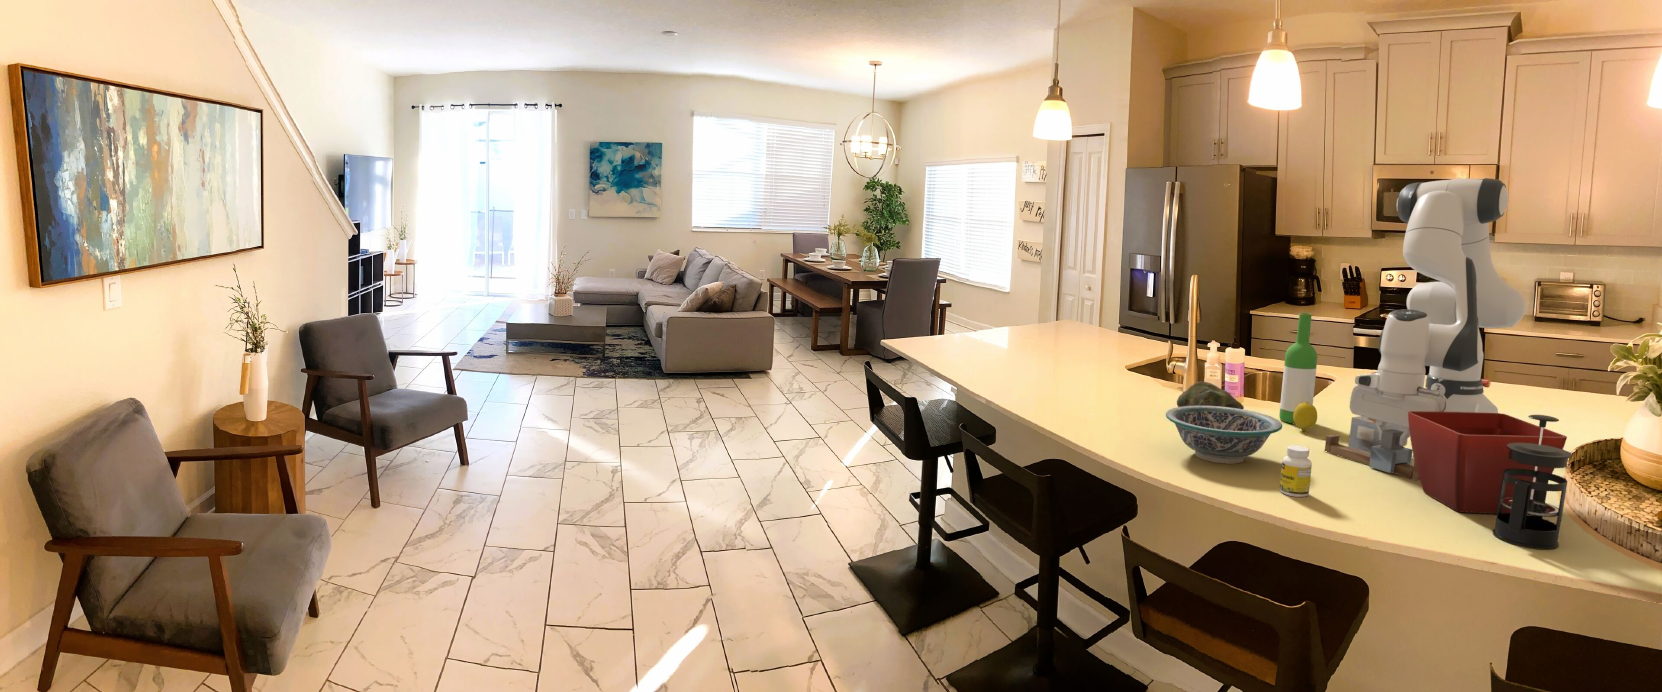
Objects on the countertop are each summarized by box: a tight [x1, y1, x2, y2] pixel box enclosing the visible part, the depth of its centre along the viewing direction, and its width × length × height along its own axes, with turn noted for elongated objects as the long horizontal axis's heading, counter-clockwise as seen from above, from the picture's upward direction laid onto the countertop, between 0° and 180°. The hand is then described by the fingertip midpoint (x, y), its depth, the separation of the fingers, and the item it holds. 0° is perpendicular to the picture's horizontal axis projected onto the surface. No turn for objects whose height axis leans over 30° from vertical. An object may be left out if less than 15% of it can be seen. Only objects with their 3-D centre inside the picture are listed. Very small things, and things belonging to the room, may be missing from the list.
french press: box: [1492, 414, 1573, 551], centre depth 153 cm, size 12×9×23 cm
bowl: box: [1165, 406, 1283, 465], centre depth 202 cm, size 25×25×10 cm
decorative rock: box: [1176, 380, 1245, 410], centre depth 241 cm, size 15×16×10 cm
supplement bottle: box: [1279, 445, 1313, 498], centre depth 178 cm, size 5×5×10 cm
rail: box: [1324, 434, 1420, 481], centre depth 198 cm, size 3×23×4 cm, turn 21°
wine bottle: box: [1279, 312, 1318, 425], centre depth 233 cm, size 8×8×30 cm
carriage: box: [1368, 429, 1413, 474], centre depth 194 cm, size 6×5×9 cm
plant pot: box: [1408, 411, 1568, 515], centre depth 172 cm, size 19×19×17 cm
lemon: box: [1293, 402, 1318, 432], centre depth 226 cm, size 6×6×8 cm
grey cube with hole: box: [1348, 415, 1402, 453], centre depth 207 cm, size 8×8×8 cm
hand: (1392, 442), depth 193 cm, fingers closed on carriage, 2 cm apart
